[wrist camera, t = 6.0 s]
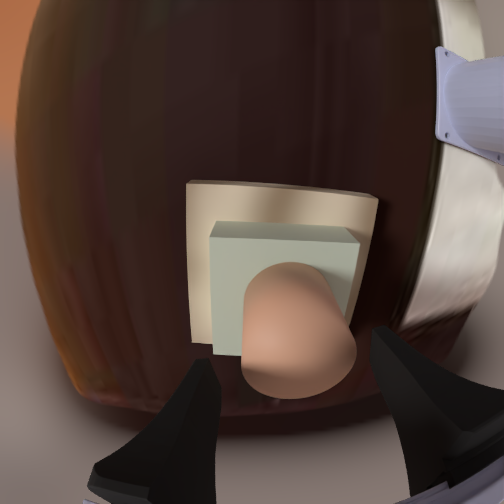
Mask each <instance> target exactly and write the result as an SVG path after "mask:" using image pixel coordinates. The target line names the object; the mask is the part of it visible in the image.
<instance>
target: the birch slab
mask: <svg viewBox="0 0 504 504" xmlns="http://www.w3.org/2000/svg"><path fill="white" fill-rule="evenodd" d="M377 205H378V199H377V198H375V197H374V196H372V195H370V194H365V193H358V192H350V191H342V190H334V189H325V188H315V187H305V186H295V185H283V184H270V183H255V182H237V181H214V180H191V181H190V182H188V183H187V184H186V227H187V266H188V288H189V306H190V321H191V334H192V342H195V343H206V344H213V338H212V318H211V293H210V257H209V236H210V234H211V232H212V229H213V227H214V225H215V222H216V221H241V222H267V223H288V224H307V225H325V226H341V227H345V228H346V229H347V230H348V231H349V232H350V234H351V235H352V236H353V237H354V238H355V239H356V240H357V241H358V242H359V243H360V247H359V253H358V258H357V263H356V268H355V273H354V277H353V282H352V286H351V291H350V295H349V299H348V304H347V308H346V312H345V316H344V318H345V320H346V322H347V325H348V327H349V324H350V321H351V318H352V314H353V311H354V307H355V304H356V300H357V297H358V293H359V289H360V285H361V281H362V277H363V273H364V269H365V265H366V261H367V256H368V252H369V247H370V242H371V238H372V233H373V228H374V222H375V217H376V211H377Z"/></svg>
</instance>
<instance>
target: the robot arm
mask: <svg viewBox="0 0 504 504" xmlns="http://www.w3.org/2000/svg"><path fill="white" fill-rule="evenodd" d="M435 51H436V68H437V114H436V132H435V133H436V137H437V139H438V140H440V141H443V142H446V143H449V144H452V145H454V146H457V147H460V148H462V149H465V150H468V151H470V152H473V153H475V154H478V155H480V156H482V157H485V158H487V159H489V160H491V161H494V162H496V163H498V164H500V165H503V166H504V56H498V57H492V58H486V59H480V60H475V61H470V62H469V61H467V60H466V59H464V58H462V57H460V56H458V55H457V54H455V53H453V52H451V51H449V50H447V49H445V48H443V47H437V48H436V50H435ZM445 53H446V55H447V56H446V55H445ZM445 133H446V134H447V138H446V137H445ZM497 157H498V158H497ZM369 361H370V364H371V367H372V370H373V373H374V376H375V379H376V381H377V384H378V386H379V388H380V390H381V392H382V394H383V396H384V399H385V401H386V403H387V405H388V407H389V409H390V412H391V414H392V416H393V419H394V421H395V424H396V428H397V431H398V434H399V438H400V442H401V446H402V450H403V454H404V459H405V464H406V469H407V475H408V482H409V490H410V496H411V497H410V498H408V499H405V500H403V501H400V502H397V503H395V504H499V503H501V502H502V501H503V500H504V390H501V389H496V388H491V387H488V386H484V385H481V384H478V383H475V382H472V381H470V380H467V379H465V378H463V377H460V376H458V375H456V374H454V373H452V372H449V371H448V370H446V369H444V368H442V367H441V366H439V365H437V364H436V363H434V362H433V361H431V360H429V359H428V358H426V357H425V356H424V355H422V354H421V353H419V352H418V351H417V350H415V349H414V348H413V347H411V346H410V345H409V344H408V343H406V342H405V341H404V340H403V339H401V338H400V337H399V336H398V335H396V334H395V333H394V332H393V331H391V330H390V329H389V328H388V327H386V326H385V325H383V326H379V327H376V328H372V337H371V350H370V360H369ZM220 413H221V385H220V383H219V381H218V379H217V376H216V374H215V372H214V369H213V367H212V365H211V363H210V360H209V358H206V359H196V360H195V361H194V363H193V364H192V366H191V367H190V369H189V370H188V372H187V374H186V375H185V377H184V378H183V380H182V381H181V383H180V385H179V386H178V387H177V389H176V390H175V392H174V393H173V395H172V396H171V398H170V399H169V400H168V402H167V403H166V404H165V405H164V407H163V408H162V409H161V411H160V412H159V413H158V414H157V415H156V416H155V418H154V419H153V420H152V421H151V422H150V423H149V424H148V425H147V426H146V427H145V428H144V429H143V430H142V431H141V432H140V433H139V434H138V435H136V436H135V437H134V438H133V439H132V440H131V441H129V442H128V443H127V444H125V445H124V446H123V447H121V448H120V449H118V450H117V451H115V452H114V453H112V454H111V455H110V456H107V457H106V458H104V459H102V460H100V461H99V462H97V463H95V465H94V467H93V469H92V473H91V475H90V478H89V481H88V485H87V487H88V489H89V490H90V491H92V492H93V493H94V494H96V495H98V496H99V497H101V498H103V499H104V500H106V501H108V502H110V503H111V504H216V489H215V451H216V441H217V435H218V428H219V420H220ZM83 504H98V503H95V502H92V501H89V500H87V499H84V501H83Z"/></svg>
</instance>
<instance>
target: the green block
mask: <svg viewBox="0 0 504 504" xmlns="http://www.w3.org/2000/svg"><path fill="white" fill-rule="evenodd" d="M359 247H360V243H359V242H358V241H357V240H356V239H355V238H354V237H353V236H352V235H351V234H350V232H349V231H348V230H347V229H346V228H345V227H341V226H325V225H307V224H288V223H267V222H241V221H216V222H215V225H214V227H213V229H212V232H211V234H210V236H209V257H210V293H211V318H212V338H213V354H219V355H239V356H242V332H243V306H244V295H245V291H246V289H247V287H248V285H249V283H250V282H251V280H252V279H253V278H254V277H255V276H256V275H257V274H258V273H259V272H261V271H262V270H264V269H266V268H267V267H270V266H272V265H275V264H278V263H283V262H298V263H303V264H306V265H309V266H311V267H313V268H315V269H316V270H318V271H319V272H320V273H321V274H322V275H323V276H324V277H325V279H326V281H327V282H328V284H329V286H330V288H331V290H332V293H333V295H334V297H335V299H336V301H337V303H338V305H339V307H340V309H341V312H342V314H343V316H345V312H346V308H347V304H348V299H349V295H350V291H351V286H352V282H353V277H354V273H355V268H356V263H357V258H358V253H359Z"/></svg>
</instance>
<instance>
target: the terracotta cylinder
mask: <svg viewBox="0 0 504 504" xmlns="http://www.w3.org/2000/svg"><path fill="white" fill-rule="evenodd" d="M356 353H357V348H356V343H355V340H354V338H353V336H352V333H351V331H350V329H349V327H348V325H347V322H346V320H345V318H344V316H343V314H342V312H341V309H340V307H339V305H338V303H337V301H336V299H335V297H334V295H333V293H332V290H331V288H330V286H329V284H328V282H327V281H326V279H325V277H324V276H323V275H322V274H321V273H320V272H319V271H318V270H316V269H315V268H313V267H311V266H309V265H306V264H303V263H298V262H283V263H278V264H275V265H272V266H270V267H267V268H266V269H264V270H262V271H261V272H259V273H258V274H257V275H256V276H255V277H254V278H253V279H252V280H251V282H250V283H249V285H248V287H247V289H246V291H245V295H244V306H243V332H242V359H241V368H242V373H243V376H244V378H245V379H246V381H247V382H248V383H249V384H250V385H251V386H252V387H253V388H254V389H256V390H257V391H259V392H261V393H263V394H265V395H268V396H271V397H276V398H282V399H297V398H304V397H309V396H313V395H316V394H319V393H321V392H324V391H326V390H328V389H330V388H331V387H333V386H334V385H336V384H337V383H339V382H340V381H341V380H342V379H343V378H344V377H345V376H346V375H347V374H348V372H349V371H350V370H351V368H352V366H353V364H354V362H355V359H356Z"/></svg>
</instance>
